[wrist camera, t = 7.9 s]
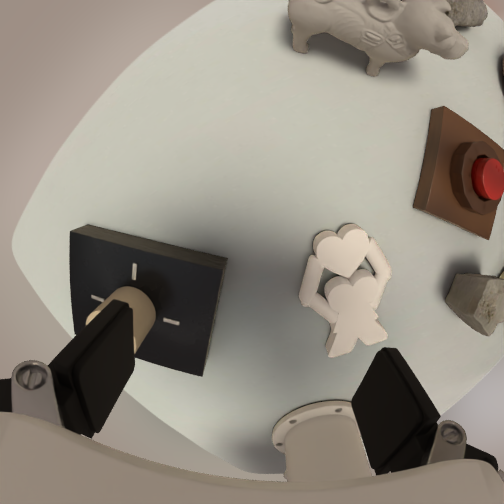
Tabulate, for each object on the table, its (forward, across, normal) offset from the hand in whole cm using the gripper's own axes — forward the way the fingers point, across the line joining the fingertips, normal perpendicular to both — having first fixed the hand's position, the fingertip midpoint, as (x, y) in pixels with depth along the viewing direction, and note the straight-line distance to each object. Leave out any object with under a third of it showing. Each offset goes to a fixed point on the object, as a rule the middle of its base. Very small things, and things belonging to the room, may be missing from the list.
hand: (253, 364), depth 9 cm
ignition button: (+11, -18, -12) cm, 24 cm away
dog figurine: (+14, -4, -20) cm, 25 cm away
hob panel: (+14, +10, +6) cm, 18 cm away
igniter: (+14, -18, -12) cm, 26 cm away
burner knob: (+11, +10, +6) cm, 16 cm away
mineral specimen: (+14, -23, -1) cm, 27 cm away
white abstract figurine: (+14, -9, +2) cm, 17 cm away
